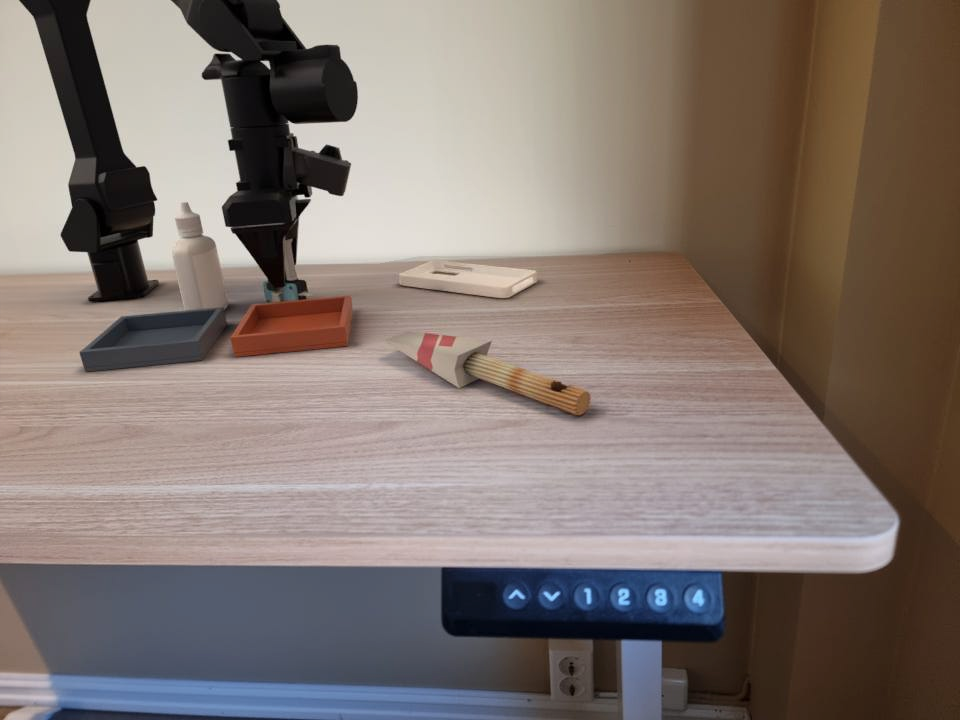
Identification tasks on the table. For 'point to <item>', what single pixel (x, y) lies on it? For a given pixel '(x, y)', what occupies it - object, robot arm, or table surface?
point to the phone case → (470, 279)
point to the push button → (288, 277)
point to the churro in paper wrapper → (485, 368)
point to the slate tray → (155, 339)
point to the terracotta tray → (294, 326)
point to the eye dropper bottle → (197, 264)
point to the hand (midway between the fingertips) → (285, 275)
